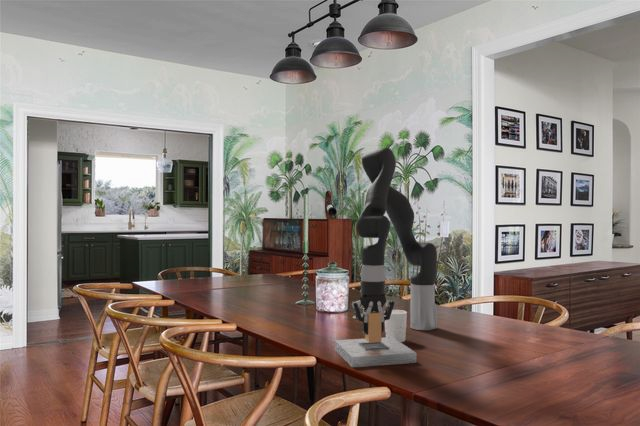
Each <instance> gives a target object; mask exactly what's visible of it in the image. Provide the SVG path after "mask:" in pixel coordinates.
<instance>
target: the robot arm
mask: <svg viewBox="0 0 640 426" xmlns="http://www.w3.org/2000/svg"><path fill="white" fill-rule="evenodd" d="M361 164H362V168H363V170H364V173H365V174H366V176H367V178H368V179H369V182H370V183H371V185H370V187H369V188H368V190H367V191H366V194H365V200H364V207H363V210H362V211H361V213H360V215H359V216H358V219H357V220H356V224H355V230H356V234H357V235H358V236H359V237H360V238H363V239H364V238H365V239H377V242H375V243H374V244H369V245H368V244H367V245H365V246H363V247H362V249H361V270H360V298H359V300H356V301H352V302H351V306H352V309H353V312H354V315H355V319H356V320H357V321H359V322H361V323H362V325H361V327H362V329H361V330H362V333H363V334H364V336H365V335H368V323H367V322H368V316H369V313H370V312H373V311H375V312H379V313H381V335H382V334H383V333H384V331H385V320H389V319H390V316H391V313H392V310H394V307H395V301H393V300H388V299H387V298H386V269H385V250H386V244H387V240H388V237H389V233H390V230H391V224H392V226H393V228H394V230H395V233H396V235H397V237H398V239H399V242H400V245H401V248H402V251H403V253H404V257H405V259H406V260H407V262H408V263H409V264H410V265H413V266H414V267H415V266H418V267H420V271H419V272H418V273H416V274H414V275H411V276H410V278H409V279H410V281H409V282H410V289H409V290H410V292H409V293H410V298H409V299H410V307H409V309H410V317H409V318H410V320H409V321H410V327H409V328H411V329H412V330H417V331H432V330H436V329H437V327H438V326H437V322H438V321H437V319H438V317H437V316H438V314H437V312H438V311H437V310H438V308H437V307H438V305H437V303H435V301H436V300H435V295H436V294H435V292H436V291H435V284H436V283H435V280H436V276H437V264H438V263H437V261H438V251H437V248H436V246H435V245H434V244H433V243H432V242H423V241H422V242H420V241H417V239H416V237H415V235H414V233H413V225H414V221H415V212H414V209H413V207H412V205H411V203H410V201H409V199H408V197H406V196H405V194H403V193H402V192H401V191H399V190H397V189H396V188H394V187H393V186H391V184H392V181H393V178H394V174H395V171H396V165H397V163H396V156H395V154H394V152H393V150H392V149H391V148H390V147H387V146H386V147H381V148H378V149H375V150H373V151H370V152H366V153H365V154H363V155H362V156H361ZM385 214H387V216H386V215H385ZM361 306H362V307H363V310H362V315H361V311H360V307H361ZM384 306H385V310H383V308H384ZM384 311H385V313H384Z"/></svg>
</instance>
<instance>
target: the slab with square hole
mask: <svg viewBox="0 0 640 426" xmlns="http://www.w3.org/2000/svg"><path fill="white" fill-rule="evenodd" d="M334 351H336V352H337V354H338V355H339V356H340V357H341V358H342V359H343V360H344V361H345V362H346V363H348V365H349V366H350V367H351V368H362V367H364V368H365V367H374V366H375V367H376V366H377V367H378V366H391V365H406V364H416V363H417V352H416V351H415V350H413V349H412V348H410V347H408V346H407V345H405V344H404V343H403V342H399V341H398V340H396V339H395V338H393V337H386V336H385V337H382V336H381V342H374V343H369V342H367V341H366V340H365V338H354V339H353V338H352V339H351V338H349V339H335V340H334Z"/></svg>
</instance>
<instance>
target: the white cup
mask: <svg viewBox="0 0 640 426" xmlns="http://www.w3.org/2000/svg"><path fill="white" fill-rule="evenodd" d="M384 313H385V310H383V314H384ZM407 315H408V312H407V311H406V310H403V309H393V310H392V313H391V316H390V319H389V320H385V321H384V331H385V337H393V338H395V339H396V340H398V341H399V342H401V343H403V342H405V341H406V338H407V337H406V335H407V334H406V333H407V319H408V318H407V317H408V316H407Z"/></svg>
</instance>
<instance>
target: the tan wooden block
mask: <svg viewBox="0 0 640 426" xmlns="http://www.w3.org/2000/svg"><path fill="white" fill-rule="evenodd" d="M367 323H368V335H365V334H364V339H365V340H366V341H367V342H369V343H374V342H381V338H382V334H381V313H379V312H375V311H373V312H370V313H369V316H368V322H367Z"/></svg>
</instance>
